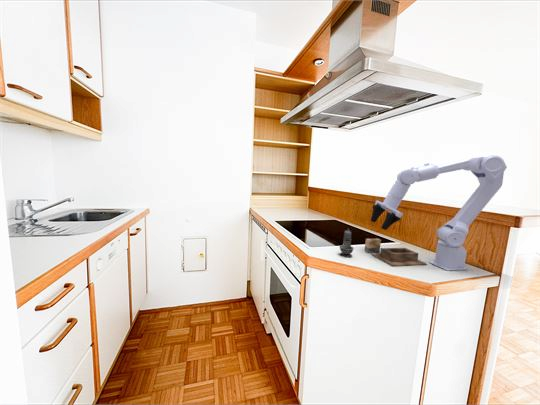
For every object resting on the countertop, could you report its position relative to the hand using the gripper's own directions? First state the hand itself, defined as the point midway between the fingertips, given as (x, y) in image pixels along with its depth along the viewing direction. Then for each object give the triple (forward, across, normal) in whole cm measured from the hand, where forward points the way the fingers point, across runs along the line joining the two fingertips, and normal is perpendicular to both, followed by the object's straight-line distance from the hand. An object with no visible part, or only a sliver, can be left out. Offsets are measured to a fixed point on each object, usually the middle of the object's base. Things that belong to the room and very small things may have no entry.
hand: (377, 225), depth 96 cm
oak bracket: (+13, -2, +6) cm, 14 cm away
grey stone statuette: (+17, +2, -8) cm, 19 cm away
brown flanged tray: (+9, +8, +11) cm, 16 cm away
